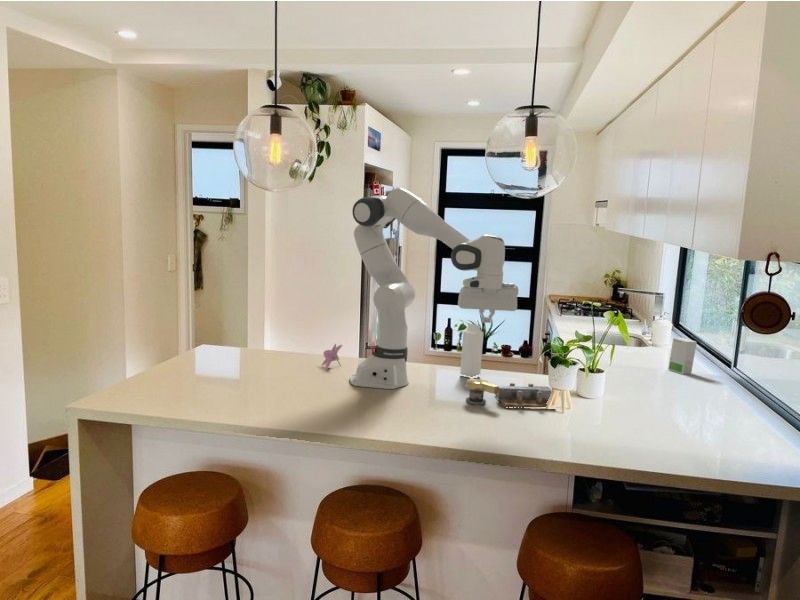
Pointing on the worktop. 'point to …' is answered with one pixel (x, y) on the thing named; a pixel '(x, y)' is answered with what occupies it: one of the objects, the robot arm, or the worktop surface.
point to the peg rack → (524, 403)
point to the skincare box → (682, 355)
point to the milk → (471, 351)
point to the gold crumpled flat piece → (481, 386)
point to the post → (476, 398)
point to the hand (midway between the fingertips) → (485, 322)
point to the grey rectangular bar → (528, 392)
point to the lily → (331, 355)
